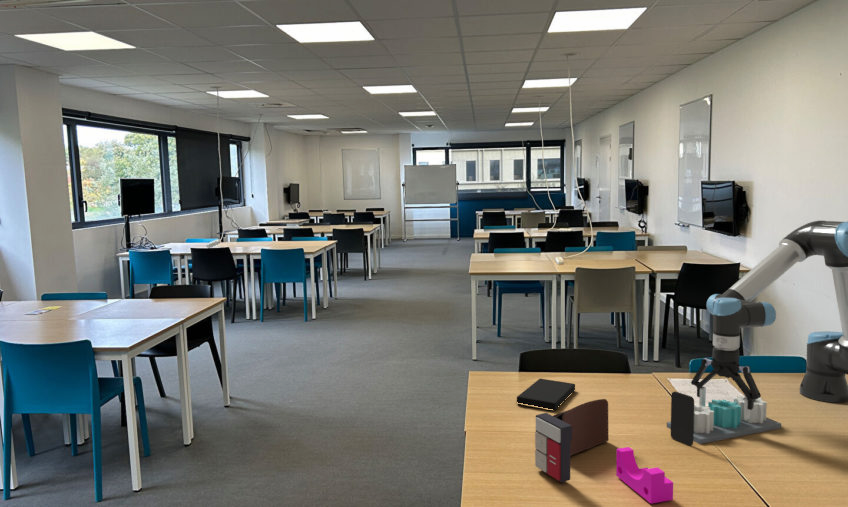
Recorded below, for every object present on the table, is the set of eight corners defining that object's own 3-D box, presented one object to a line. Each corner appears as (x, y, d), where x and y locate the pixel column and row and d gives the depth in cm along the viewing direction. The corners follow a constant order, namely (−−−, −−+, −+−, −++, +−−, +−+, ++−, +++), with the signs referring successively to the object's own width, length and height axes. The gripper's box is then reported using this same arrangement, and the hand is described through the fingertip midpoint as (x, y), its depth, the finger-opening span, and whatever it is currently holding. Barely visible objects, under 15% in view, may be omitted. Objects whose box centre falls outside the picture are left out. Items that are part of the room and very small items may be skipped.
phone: (670, 438, 182) (671, 390, 180) (671, 437, 182) (673, 390, 181) (691, 447, 176) (693, 397, 174) (693, 446, 176) (695, 397, 174)
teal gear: (723, 415, 195) (724, 397, 194) (747, 425, 186) (747, 407, 185) (701, 419, 192) (701, 401, 191) (724, 430, 183) (724, 411, 182)
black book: (516, 404, 214) (516, 396, 214) (539, 385, 234) (539, 378, 233) (555, 411, 207) (555, 403, 206) (575, 391, 226) (575, 383, 226)
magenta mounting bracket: (672, 499, 147) (673, 470, 146) (650, 503, 145) (651, 474, 145) (636, 472, 161) (637, 445, 161) (616, 475, 160) (616, 448, 159)
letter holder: (609, 441, 181) (609, 396, 180) (564, 459, 170) (564, 411, 169) (583, 430, 190) (583, 387, 188) (539, 447, 178) (538, 401, 177)
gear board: (744, 412, 201) (745, 387, 200) (781, 428, 187) (782, 401, 186) (666, 426, 190) (667, 400, 190) (699, 444, 177) (700, 416, 176)
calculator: (533, 467, 165) (533, 415, 164) (545, 463, 167) (545, 412, 166) (559, 484, 156) (559, 428, 154) (572, 480, 158) (572, 425, 156)
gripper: (681, 342, 193) (679, 405, 195) (764, 357, 174) (762, 427, 177) (691, 338, 198) (690, 400, 200) (774, 352, 179) (771, 420, 182)
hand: (723, 413), depth 188 cm, fingers open, 13 cm apart
